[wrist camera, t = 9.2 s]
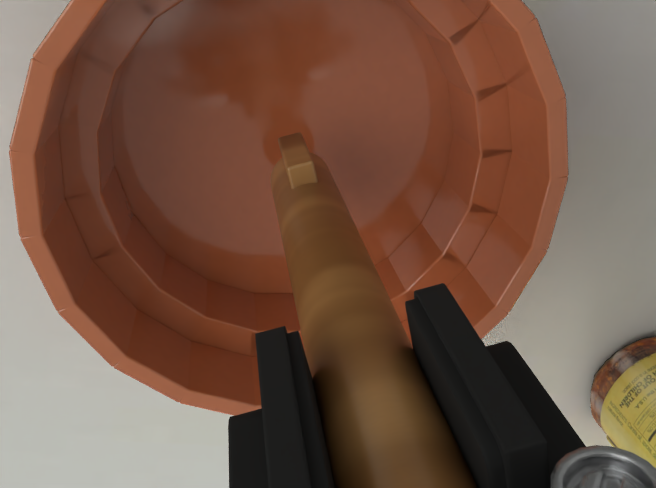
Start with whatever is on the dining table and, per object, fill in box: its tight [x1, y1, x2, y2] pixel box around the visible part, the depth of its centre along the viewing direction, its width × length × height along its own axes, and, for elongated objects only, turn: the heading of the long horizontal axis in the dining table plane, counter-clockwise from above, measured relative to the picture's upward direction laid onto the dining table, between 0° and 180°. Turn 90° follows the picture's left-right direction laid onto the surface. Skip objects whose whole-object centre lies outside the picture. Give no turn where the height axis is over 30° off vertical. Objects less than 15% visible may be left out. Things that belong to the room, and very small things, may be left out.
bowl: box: [9, 0, 568, 416], centre depth 20 cm, size 15×15×6 cm
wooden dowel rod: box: [270, 132, 478, 488], centre depth 14 cm, size 3×2×16 cm, turn 11°
